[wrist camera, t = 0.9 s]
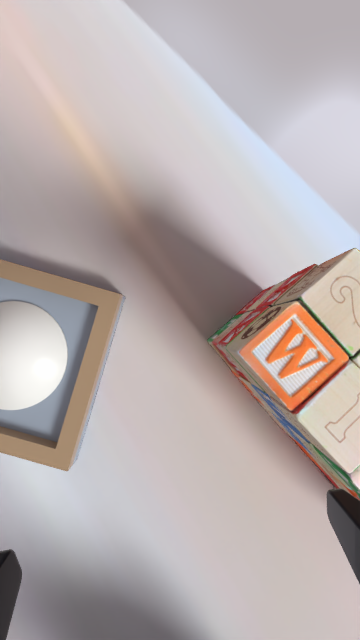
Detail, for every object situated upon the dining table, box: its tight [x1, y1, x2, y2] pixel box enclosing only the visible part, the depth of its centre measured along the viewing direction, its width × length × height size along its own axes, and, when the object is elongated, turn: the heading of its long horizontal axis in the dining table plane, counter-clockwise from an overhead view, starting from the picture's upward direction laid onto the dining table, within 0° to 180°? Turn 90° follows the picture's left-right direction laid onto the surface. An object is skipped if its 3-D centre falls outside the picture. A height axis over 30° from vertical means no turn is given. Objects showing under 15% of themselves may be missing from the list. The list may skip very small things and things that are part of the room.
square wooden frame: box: [0, 259, 125, 471], centre depth 22 cm, size 13×13×2 cm
